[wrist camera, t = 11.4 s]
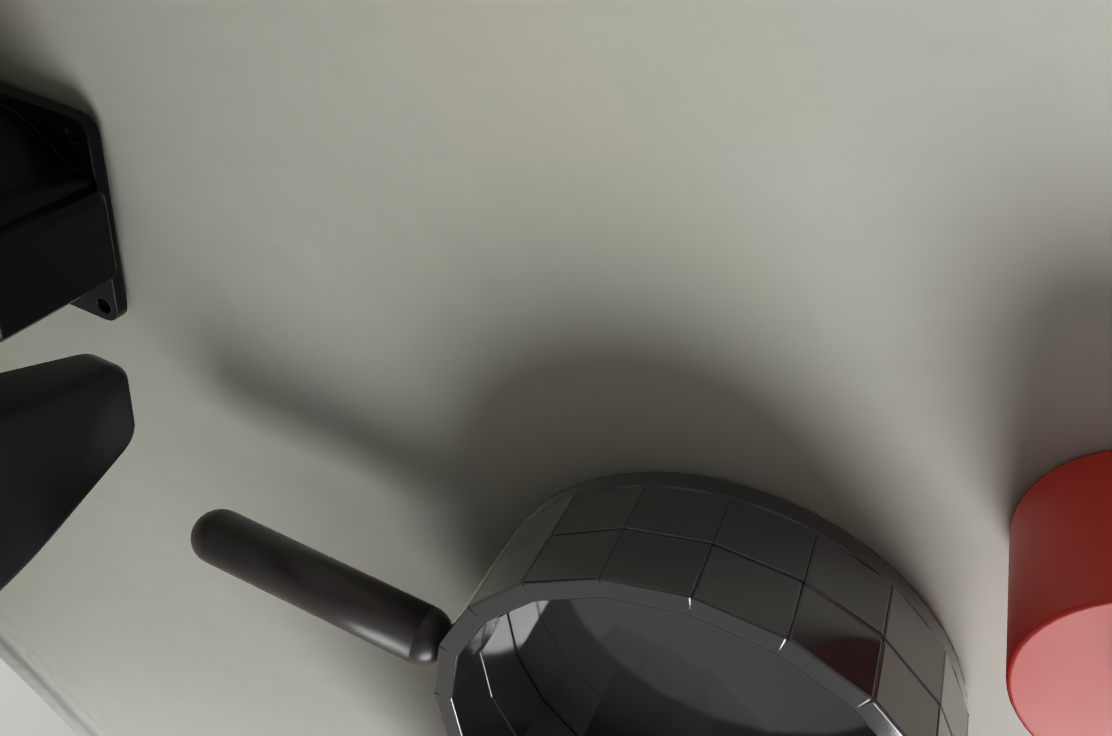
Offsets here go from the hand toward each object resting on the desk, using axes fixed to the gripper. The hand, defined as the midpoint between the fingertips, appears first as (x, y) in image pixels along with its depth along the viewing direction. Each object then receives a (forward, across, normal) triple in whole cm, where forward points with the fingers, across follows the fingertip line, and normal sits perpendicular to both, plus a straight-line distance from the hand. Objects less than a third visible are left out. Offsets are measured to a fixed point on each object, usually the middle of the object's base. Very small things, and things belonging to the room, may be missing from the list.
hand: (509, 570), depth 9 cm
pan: (+12, -3, +14) cm, 19 cm away
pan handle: (+9, +8, +15) cm, 19 cm away
